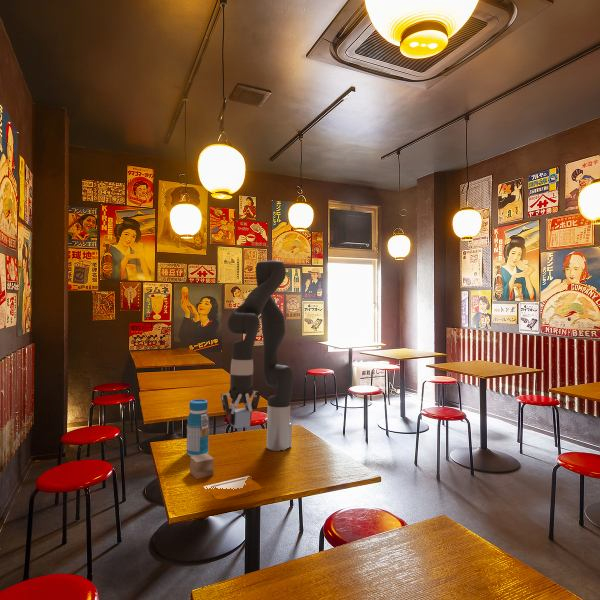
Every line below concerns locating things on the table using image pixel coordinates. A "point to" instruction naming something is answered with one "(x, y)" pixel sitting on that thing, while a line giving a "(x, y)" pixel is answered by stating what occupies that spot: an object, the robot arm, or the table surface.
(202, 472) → the walnut block
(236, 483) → the menu card
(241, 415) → the slate cube
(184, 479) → the table surface
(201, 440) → the beverage bottle
